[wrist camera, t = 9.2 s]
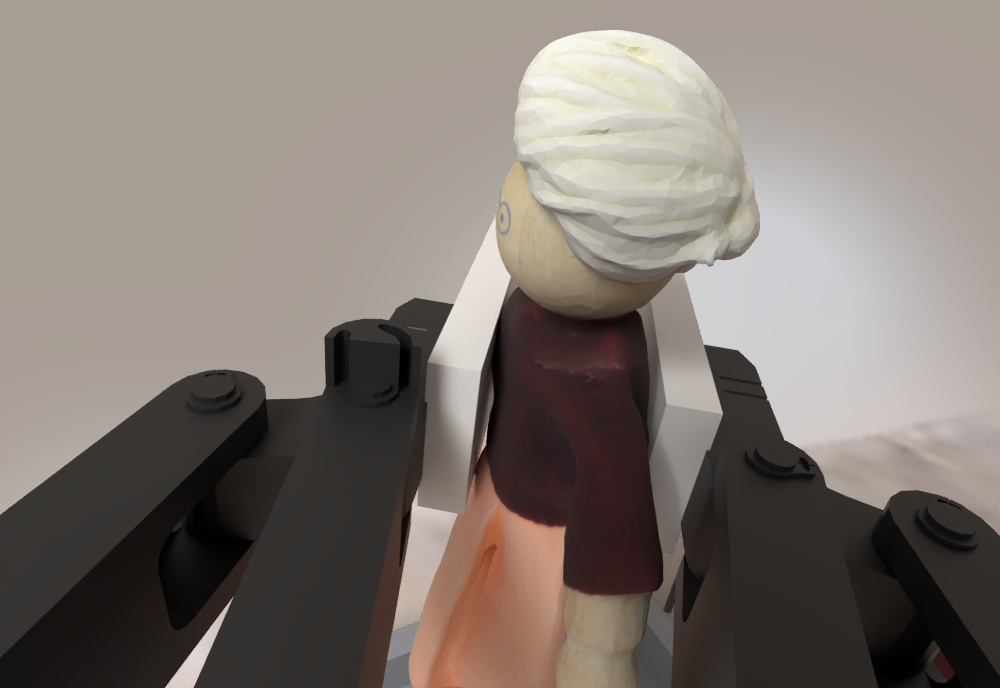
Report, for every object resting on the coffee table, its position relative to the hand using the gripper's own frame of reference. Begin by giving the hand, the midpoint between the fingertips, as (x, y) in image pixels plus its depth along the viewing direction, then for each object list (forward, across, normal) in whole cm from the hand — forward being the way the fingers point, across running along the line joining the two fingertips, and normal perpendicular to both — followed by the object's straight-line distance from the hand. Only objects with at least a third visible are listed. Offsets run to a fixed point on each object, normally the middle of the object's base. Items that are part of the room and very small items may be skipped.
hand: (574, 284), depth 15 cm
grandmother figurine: (-6, 0, -7) cm, 9 cm away
